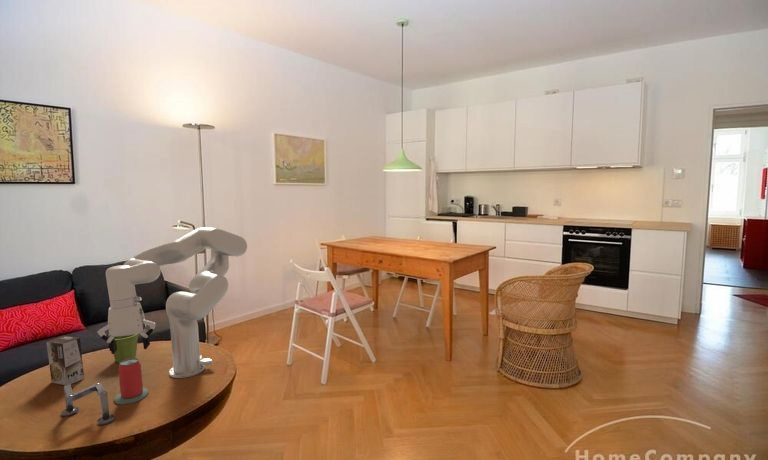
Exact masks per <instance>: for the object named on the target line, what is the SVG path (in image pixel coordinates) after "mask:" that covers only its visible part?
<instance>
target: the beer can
mask: <svg viewBox="0 0 768 460" xmlns="http://www.w3.org/2000/svg"><path fill="white" fill-rule="evenodd" d="M117 371H118V381H119V390H120V391H119V392H120V393H121V397H122V398H124V399H130V398H134V397H137V396H139V395H140V394H141V393H142V392H143V388H144V385H143V375H142V374H143V373H142V364H141V362H140V359H138V358H137V357H135V358H130V359H126V360H123V361H122V362H120V363H119V366H118V370H117ZM120 393H119V394H120Z"/></svg>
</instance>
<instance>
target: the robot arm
mask: <svg viewBox="0 0 768 460" xmlns="http://www.w3.org/2000/svg"><path fill="white" fill-rule="evenodd" d="M203 250H210V259H209V261H208V262H207V263H206V265H205V266H203V267H202V268H201V269H200V270H199V271H198V272H197V273H196V274H195V275H194V276H193V277H192V279H190V281H189V284H188V289H189V291H190V292H189V291H183V290H182V291H176V292H173V293H172V294H170V295H169V296H168V298H166V299H167V300H166V301H165V310H166V311H165V312H166V314H167V315H166V316H167V317H168V318H167V319H168V321H169V329H170V330H169V331H170V341H171V343H170V344H171V354H172V355H171V356H172V367H171V368H170V369H169V371H168V374H169V376H170V377H171V378H174V379H183V378H190V377H193V376H196V375H198V374H201V373H202V372H203V371H204V370H205V369H206V366H210V365H213V359H211V358H210V357H207V358H203V357H202V356H203V355H202V354H201V352H200V351H201V350H200V337H199V325H198V321H199V320H200V321H201V320H202V319H204V318H205V317H207V316H208V314H210V313H211V311H213V310H214V308H216V306H217V305H218V304H219V303H220V302H221V301H222V300H223V298H224V297H225V295H226V294H227V292H228V290H229V281H228V279H227V278H226V277H225V275H226V274H227V273H228V271H229V267H230V261H229V258H230V257H236V258H237V257H240V256H243V255H244V254H245V253H246V252H247V250H248V243H247V240H246V239H244V237H242V236H240V235H238V234H235V233H232V232H229V231H228V230H227V231H226V230H223V229H220V228H218V227H217V228H216V227H198V228H195V229H194V230H192V231H189V232H188V233H186V234H184V235H181V236H180V237H178V238H177V239H174V240H172V241H171V242H168V243H164V244H162V245H158V246H155V247H152V248H149V249H147V250H145V251H142V252H140V253H138V254H136V255H134V256H133V257H131V258H129V259H126V261H125V262H124V263H123V265H122V264H121V265H119V264H118V265H114V266H111V267H108V268H107V269H106V270H105V279H106V285H107V291H108V297H109V300H108V301H109V305H110V306H109V308H108V313H107V314H108V316H107V324H106V325H105V326H104V327H101V328H100V329H98V330H97V332H96V333H97V334H98V335H99V336H100V337H101V339H102V340H103V341H105V342H106V344H108V348H109V352H111V355H114V353H115V352H116V351H117V345H116V340H115V339H114V338H115V337H119V336H127V335H134V334H139V336H142V345H143V349H144V350H147V349H148V348H149V346H150V344H151V342H150V335H151V334H152V333H153V332H154V330H155V328H156V326H157V322H155V321H151V320H148V319H146V317H145V313H144V310H143V308H142V304H141V302H140V301H142V297H141V296H138V295H137V292H136V286H135V285H142V284H149V283H153V282H155V281H156V280H157V279H158V278H159V277H160V275H161V272H162V271H161V268H160V267H162V266H166V265H172V264H175V265H176V264H179V263H183V262H185V261H187V260H188V259H191V258H192V257H194V256H195V255H196V254H199V253H201V252H202V251H203ZM147 326H148V327H149V329H146V328H147ZM107 330H108V334H107V333H106V331H107ZM109 334H110V336H109Z"/></svg>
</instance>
